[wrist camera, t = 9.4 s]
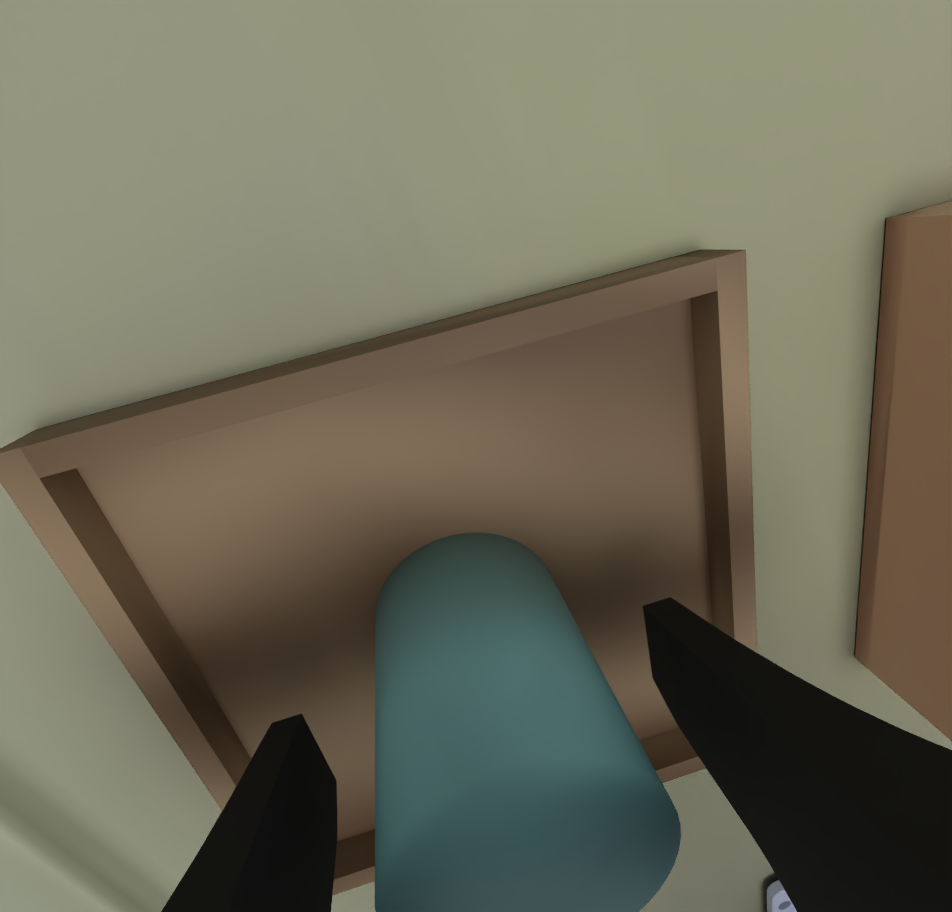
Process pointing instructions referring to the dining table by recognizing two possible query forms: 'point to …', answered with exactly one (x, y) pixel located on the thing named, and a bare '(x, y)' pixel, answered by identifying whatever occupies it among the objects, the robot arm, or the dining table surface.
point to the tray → (411, 508)
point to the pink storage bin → (912, 472)
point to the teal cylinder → (504, 747)
